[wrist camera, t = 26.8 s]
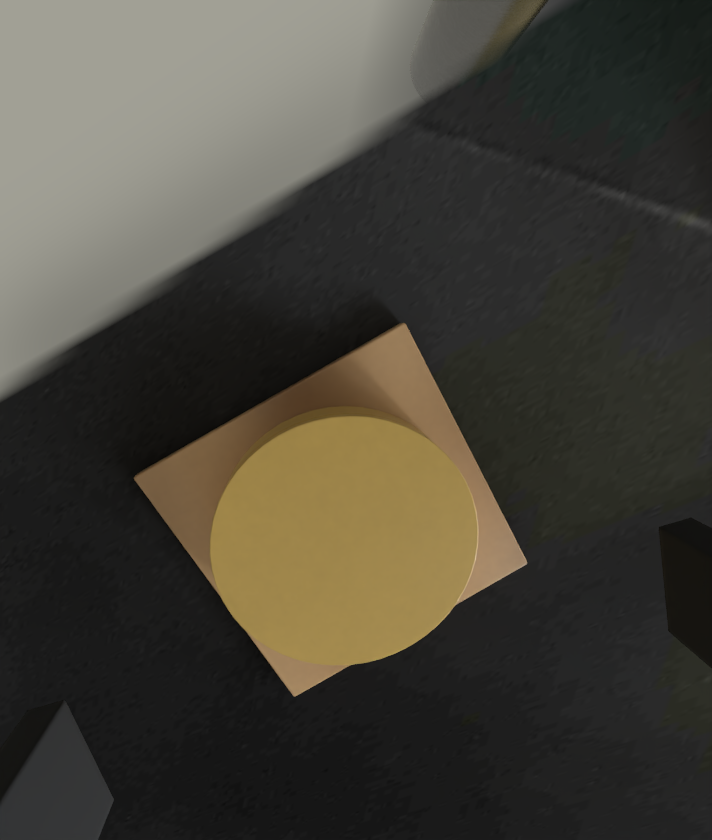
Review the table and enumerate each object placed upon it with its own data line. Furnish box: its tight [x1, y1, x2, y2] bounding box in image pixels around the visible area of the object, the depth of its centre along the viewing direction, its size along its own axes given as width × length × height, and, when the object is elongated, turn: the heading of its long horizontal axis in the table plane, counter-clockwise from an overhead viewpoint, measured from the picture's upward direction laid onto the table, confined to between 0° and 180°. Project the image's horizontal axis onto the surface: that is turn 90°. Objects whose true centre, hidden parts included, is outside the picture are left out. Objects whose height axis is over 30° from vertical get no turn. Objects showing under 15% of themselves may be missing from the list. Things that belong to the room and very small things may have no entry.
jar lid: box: [209, 406, 478, 665], centre depth 16 cm, size 9×9×2 cm
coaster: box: [134, 323, 527, 697], centre depth 17 cm, size 11×11×1 cm
